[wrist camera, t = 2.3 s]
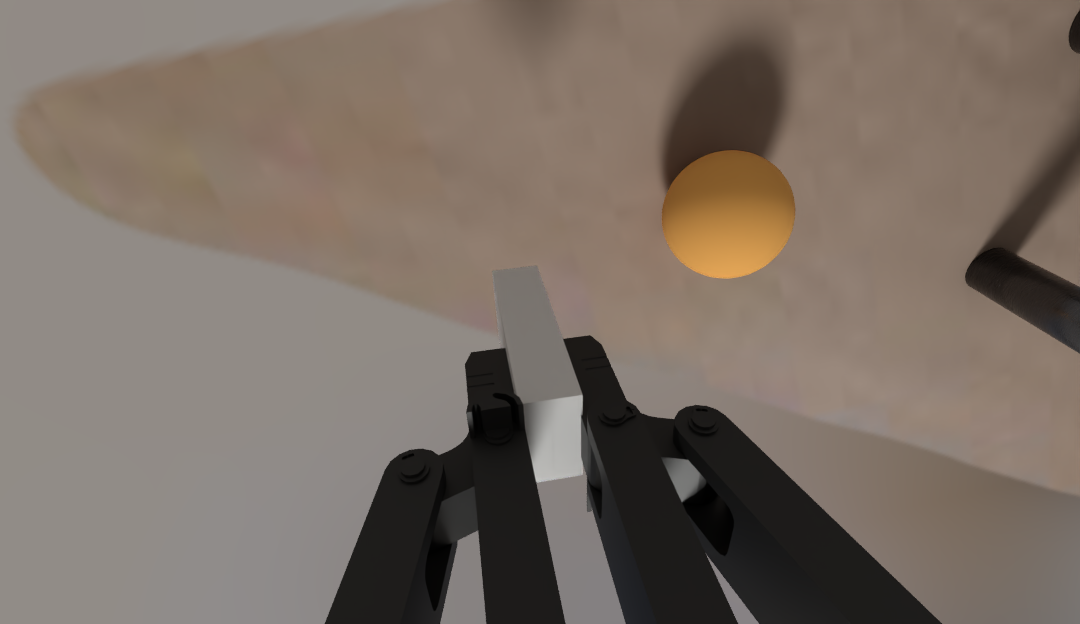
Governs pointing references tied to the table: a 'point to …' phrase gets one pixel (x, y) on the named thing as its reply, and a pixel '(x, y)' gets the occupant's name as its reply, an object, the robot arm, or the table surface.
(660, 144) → the table surface
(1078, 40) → the post
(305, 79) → the table surface
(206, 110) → the table surface
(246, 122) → the table surface
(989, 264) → the post
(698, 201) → the ball
